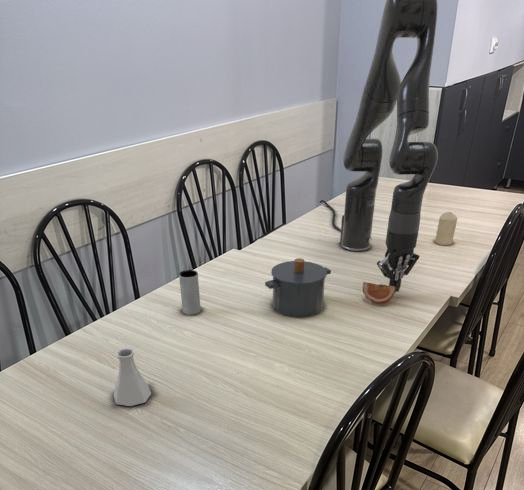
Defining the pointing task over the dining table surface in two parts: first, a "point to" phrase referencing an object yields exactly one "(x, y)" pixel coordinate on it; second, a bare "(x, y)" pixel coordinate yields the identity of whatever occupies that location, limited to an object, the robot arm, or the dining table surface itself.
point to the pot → (297, 297)
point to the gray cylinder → (190, 292)
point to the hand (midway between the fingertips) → (393, 291)
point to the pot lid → (299, 272)
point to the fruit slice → (378, 292)
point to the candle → (446, 229)
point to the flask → (129, 381)
